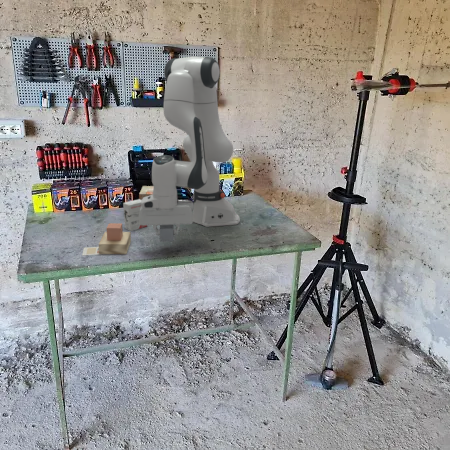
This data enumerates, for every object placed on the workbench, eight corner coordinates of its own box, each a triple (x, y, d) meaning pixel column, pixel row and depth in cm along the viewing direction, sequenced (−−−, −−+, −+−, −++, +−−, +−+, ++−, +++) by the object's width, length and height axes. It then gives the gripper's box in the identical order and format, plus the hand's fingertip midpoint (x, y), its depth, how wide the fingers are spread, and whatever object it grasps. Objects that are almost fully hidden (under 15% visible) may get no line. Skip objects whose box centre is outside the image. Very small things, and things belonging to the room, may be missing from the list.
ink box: (141, 223, 185) (139, 198, 180) (147, 226, 182) (146, 201, 177) (124, 228, 179) (122, 202, 175) (130, 231, 176) (128, 205, 172)
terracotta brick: (122, 235, 161) (122, 223, 160) (120, 240, 157) (120, 228, 155) (109, 235, 161) (108, 223, 159) (107, 240, 156) (106, 228, 155)
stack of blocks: (146, 204, 210) (145, 180, 206) (158, 204, 210) (157, 180, 206) (140, 219, 190) (138, 193, 186) (153, 219, 191) (152, 193, 186)
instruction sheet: (108, 246, 161) (108, 246, 161) (107, 254, 155) (107, 253, 155) (84, 247, 159) (84, 247, 159) (82, 255, 153) (82, 255, 153)
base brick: (131, 241, 166) (130, 232, 165) (126, 254, 155) (126, 244, 154) (105, 241, 166) (104, 231, 164) (99, 253, 154) (98, 244, 153)
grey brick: (173, 235, 161) (173, 223, 159) (173, 241, 157) (173, 228, 155) (160, 236, 161) (160, 224, 159) (160, 241, 156) (159, 229, 154)
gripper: (193, 197, 157) (194, 230, 162) (138, 198, 155) (141, 231, 160) (193, 202, 151) (194, 237, 156) (136, 203, 149) (139, 238, 154)
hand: (166, 234), depth 158 cm, fingers closed on grey brick, 5 cm apart
